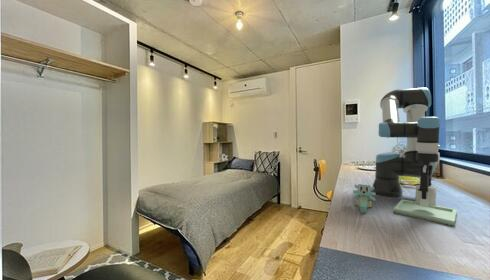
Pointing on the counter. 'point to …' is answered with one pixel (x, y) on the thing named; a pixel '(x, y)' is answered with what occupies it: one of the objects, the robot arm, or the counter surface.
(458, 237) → the counter surface
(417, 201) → the cream rounded capsule
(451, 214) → the tray
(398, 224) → the counter surface
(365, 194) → the toy
